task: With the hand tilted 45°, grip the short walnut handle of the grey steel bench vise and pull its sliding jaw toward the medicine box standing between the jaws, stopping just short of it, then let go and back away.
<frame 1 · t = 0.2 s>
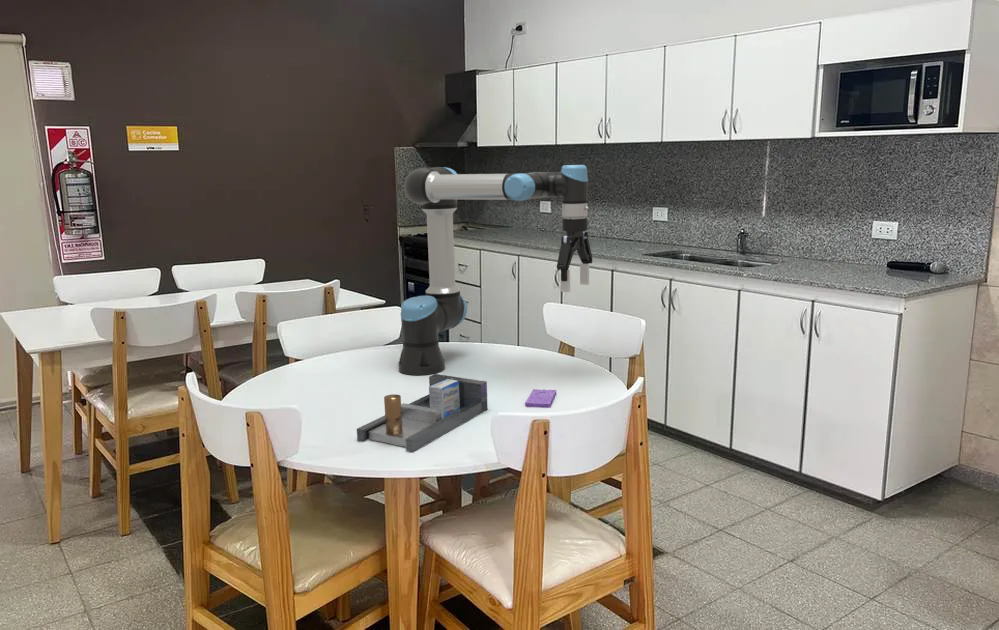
hand: (575, 288, 229), 28 cm above the table, tool pointing down, fingers open, 13 cm apart
medicine box: (445, 414, 204), resting in vise frame
vise frame: (437, 417, 201), on the table
sponges: (541, 402, 213), on the table
sliding jaw: (405, 412, 188), point 6 cm above the table, slide at 0.0 cm
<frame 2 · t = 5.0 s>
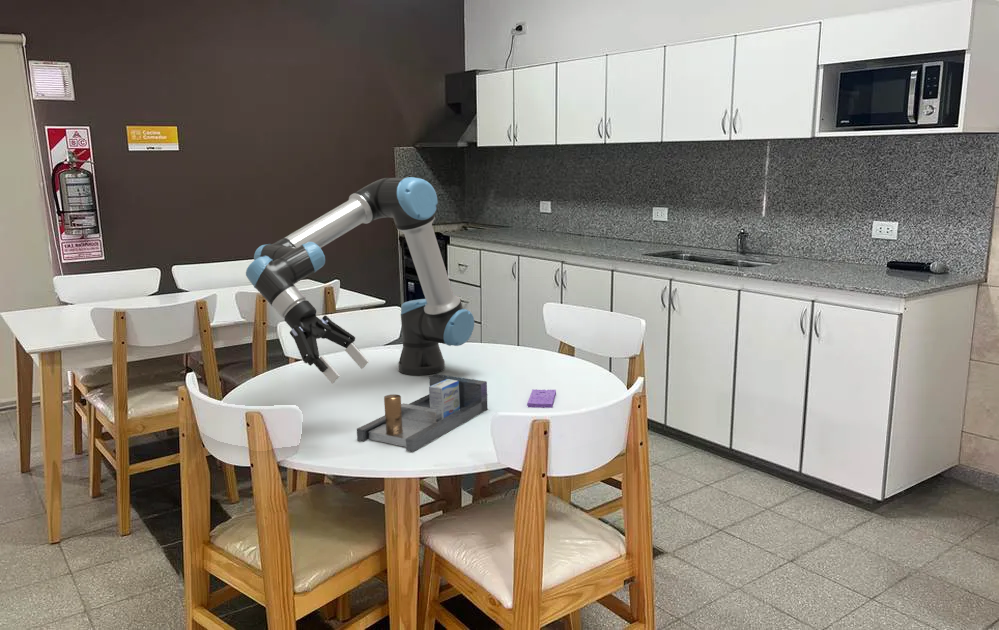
hand: (351, 372, 185), 17 cm above the table, tool tilted 45°, fingers open, 13 cm apart
nothing on the table moved.
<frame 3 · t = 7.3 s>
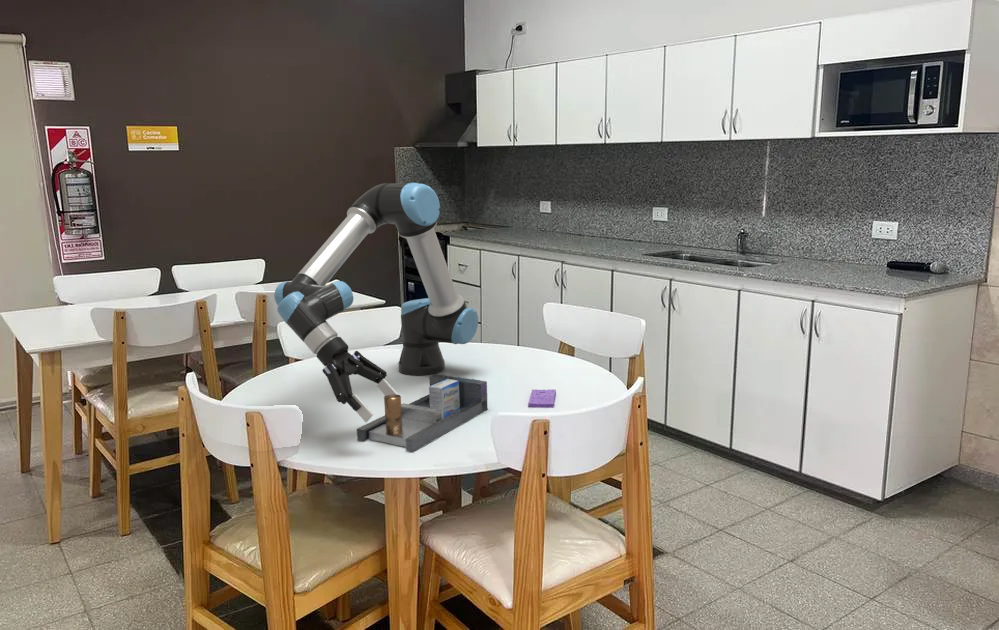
hand: (384, 409, 183), 8 cm above the table, tool tilted 45°, fingers open, 13 cm apart
nothing on the table moved.
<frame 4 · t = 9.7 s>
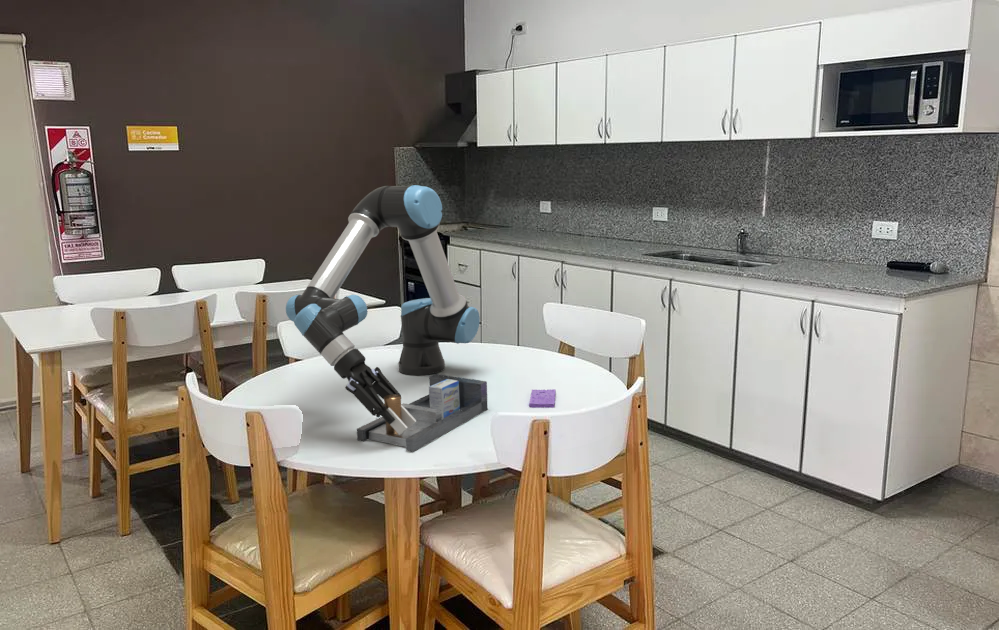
hand: (407, 427, 183), 4 cm above the table, tool tilted 45°, fingers closed on sliding jaw, 4 cm apart
sliding jaw: (405, 412, 188), point 6 cm above the table, slide at 0.0 cm, touching gripper
everything else where it was.
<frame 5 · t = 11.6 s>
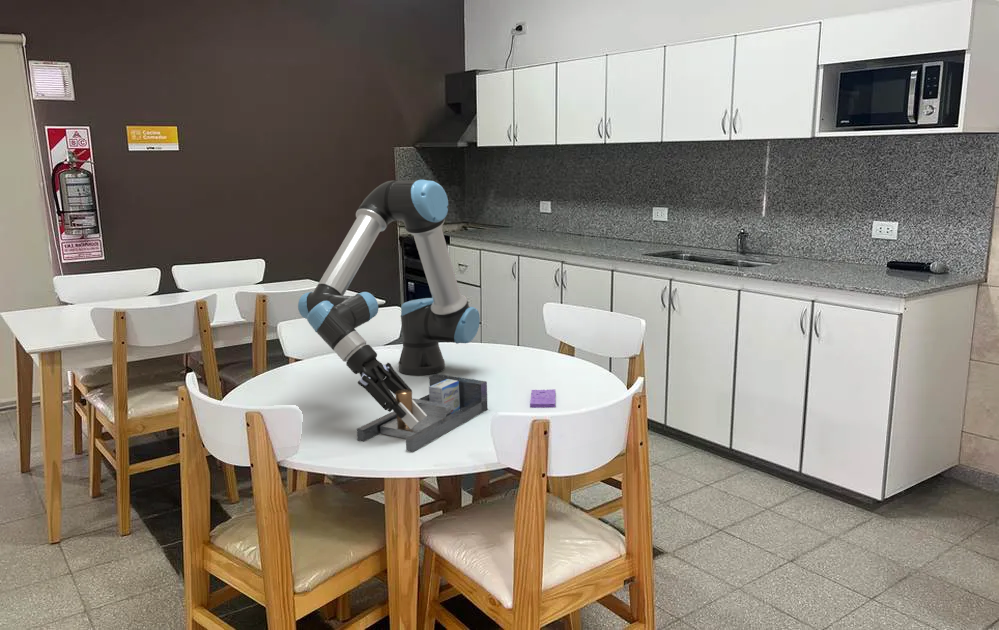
hand: (418, 422, 187), 4 cm above the table, tool tilted 45°, fingers closed on sliding jaw, 4 cm apart
sliding jaw: (415, 407, 192), point 6 cm above the table, slide at 4.5 cm, touching gripper
everything else where it was.
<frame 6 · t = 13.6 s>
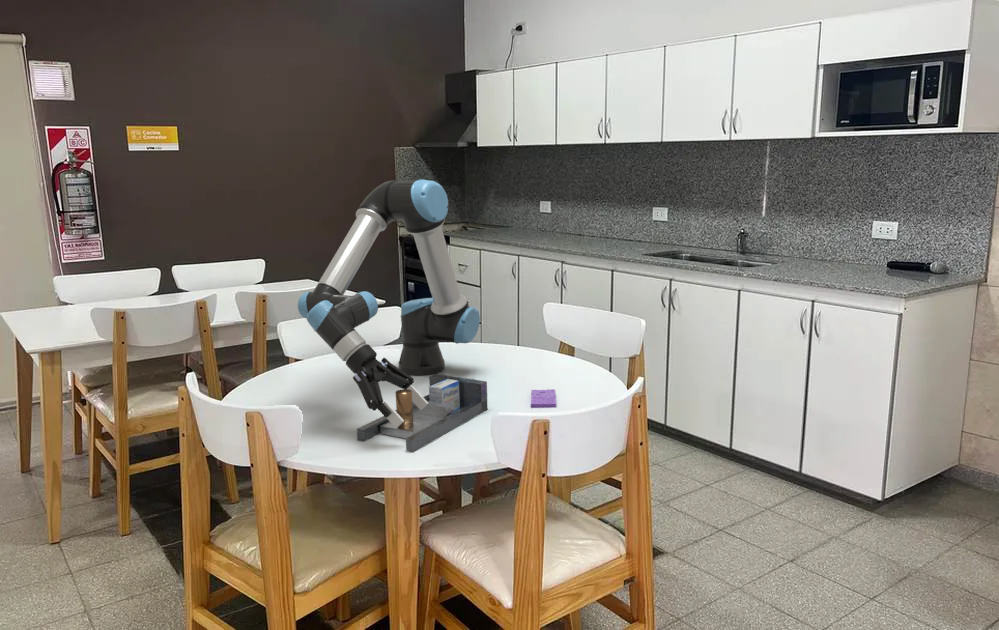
hand: (412, 415, 187), 5 cm above the table, tool tilted 45°, fingers open, 13 cm apart
sliding jaw: (415, 407, 192), point 6 cm above the table, slide at 4.5 cm
everything else where it was.
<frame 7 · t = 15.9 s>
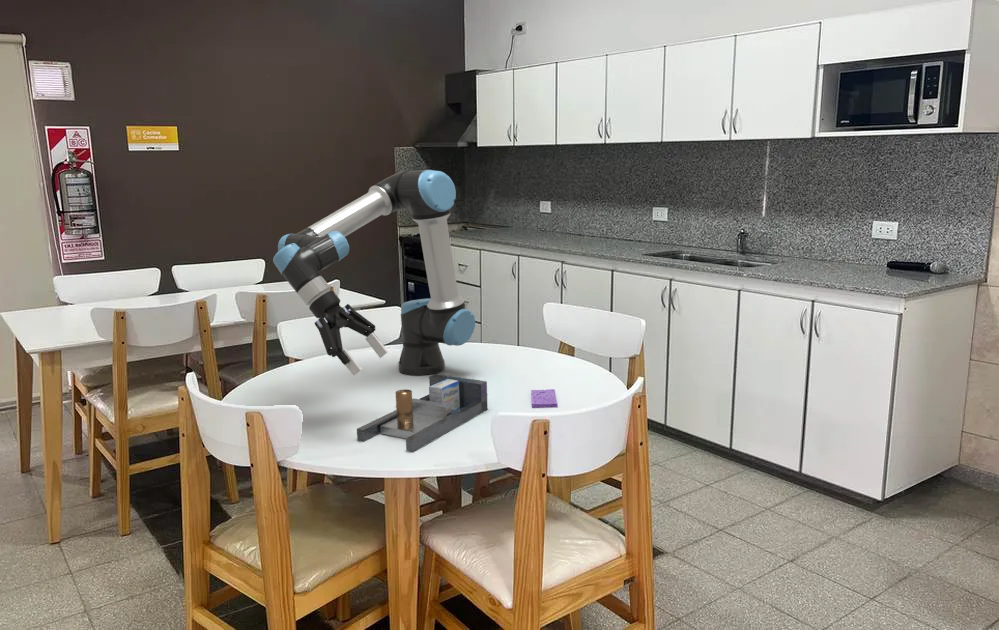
hand: (371, 363, 193), 17 cm above the table, tool tilted 40°, fingers open, 13 cm apart
nothing on the table moved.
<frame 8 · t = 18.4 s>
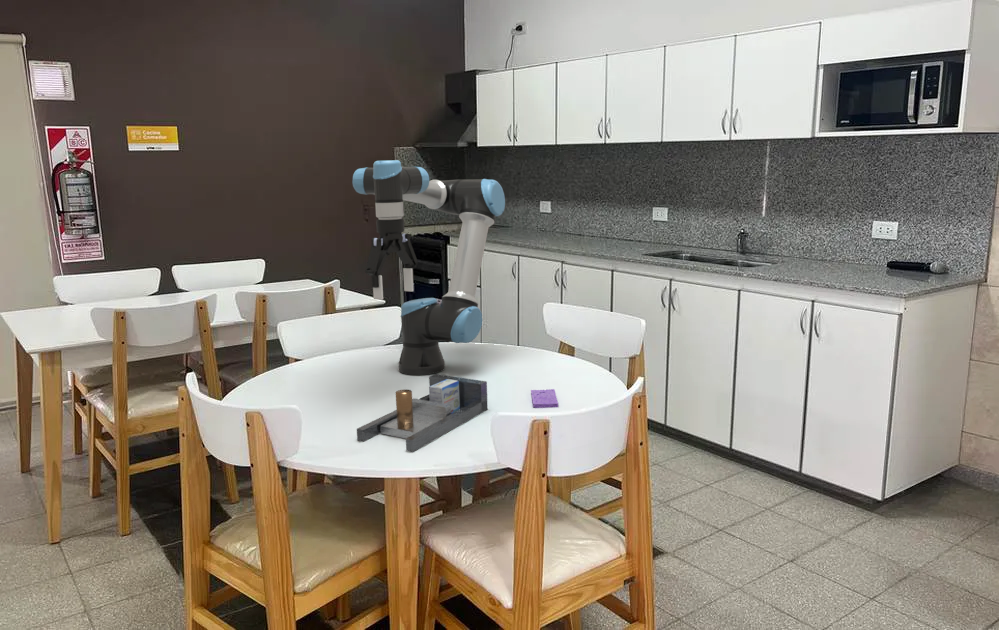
hand: (394, 295, 209), 31 cm above the table, tool pointing down, fingers open, 13 cm apart
at the end: sliding jaw slide at 4.5 cm; medicine box moved 0.3 cm from its start; medicine box tilted 0° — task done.
